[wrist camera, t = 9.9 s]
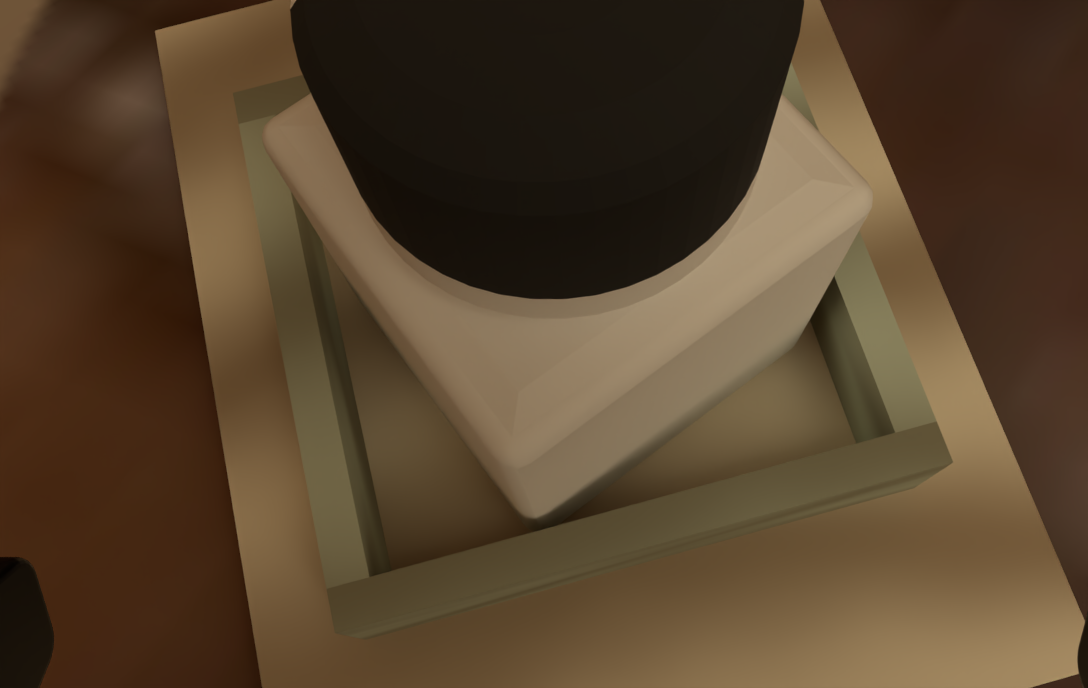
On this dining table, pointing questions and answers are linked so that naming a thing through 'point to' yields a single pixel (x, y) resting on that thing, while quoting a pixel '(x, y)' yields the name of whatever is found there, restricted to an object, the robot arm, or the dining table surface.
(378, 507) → the holder board
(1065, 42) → the dining table surface
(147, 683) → the dining table surface
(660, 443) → the medicine bottle
